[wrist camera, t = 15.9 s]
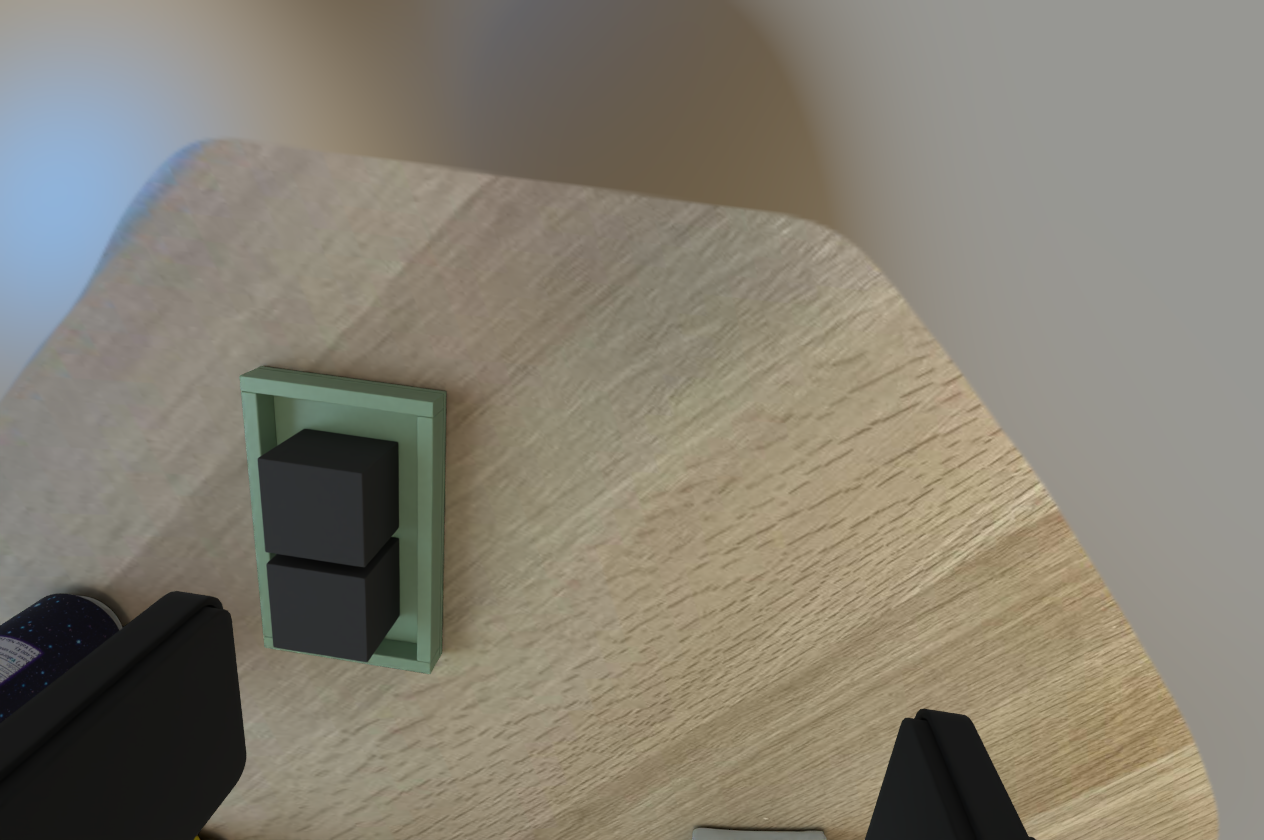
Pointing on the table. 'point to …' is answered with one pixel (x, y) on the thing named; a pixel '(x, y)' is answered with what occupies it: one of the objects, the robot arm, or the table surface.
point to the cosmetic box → (755, 835)
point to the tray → (419, 427)
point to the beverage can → (48, 644)
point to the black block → (334, 603)
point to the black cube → (329, 496)
